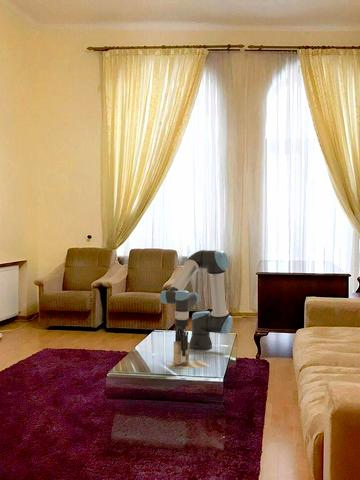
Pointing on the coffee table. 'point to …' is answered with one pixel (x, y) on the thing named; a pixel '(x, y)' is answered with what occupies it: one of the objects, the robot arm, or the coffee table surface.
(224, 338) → the coffee table surface
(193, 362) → the board
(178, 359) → the block
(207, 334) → the robot arm
